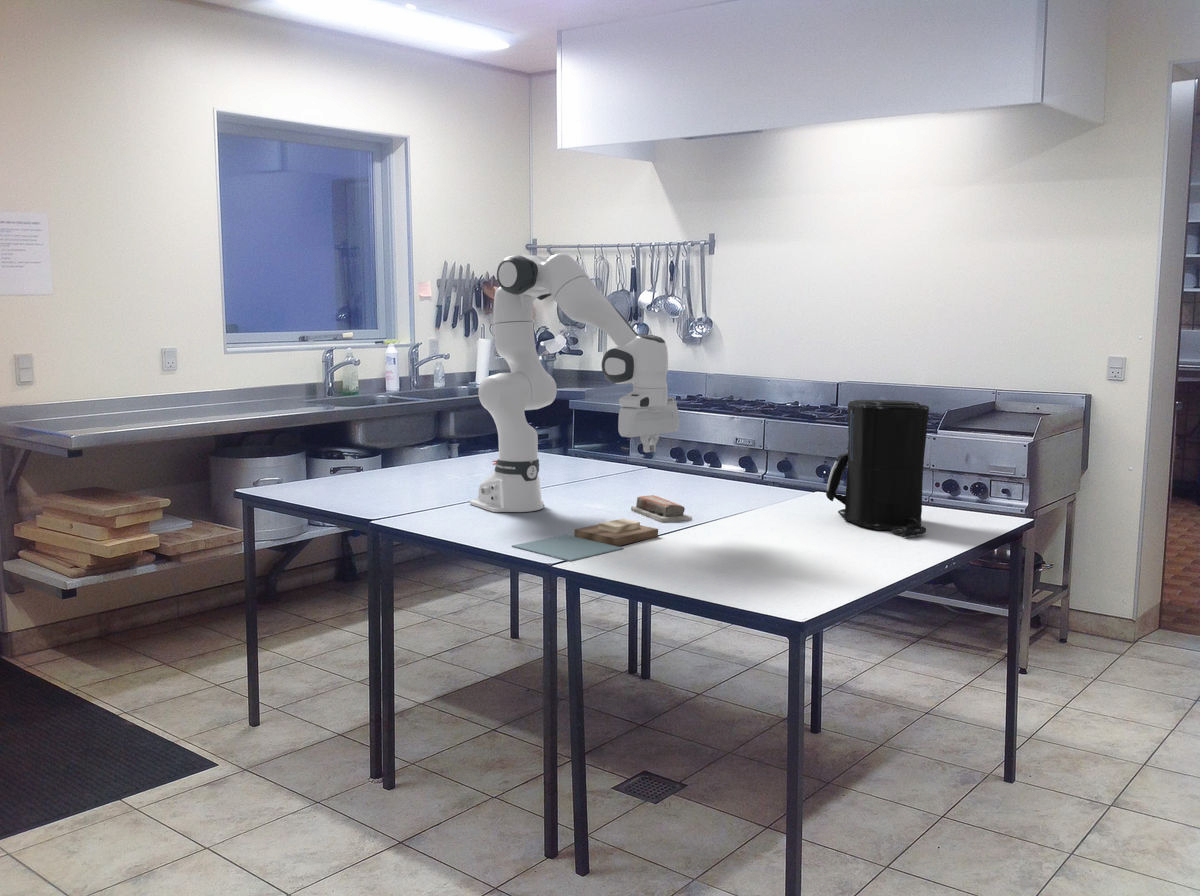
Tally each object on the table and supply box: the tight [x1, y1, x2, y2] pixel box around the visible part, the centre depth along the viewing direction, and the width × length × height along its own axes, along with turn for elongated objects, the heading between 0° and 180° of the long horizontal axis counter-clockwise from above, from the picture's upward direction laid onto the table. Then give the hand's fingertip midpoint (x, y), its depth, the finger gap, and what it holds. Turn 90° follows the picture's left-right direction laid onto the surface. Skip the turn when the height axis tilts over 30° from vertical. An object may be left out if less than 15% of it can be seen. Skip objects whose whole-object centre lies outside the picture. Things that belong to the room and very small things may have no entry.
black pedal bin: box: [825, 399, 930, 539], centre depth 280 cm, size 23×32×34 cm
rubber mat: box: [511, 533, 624, 562], centre depth 250 cm, size 20×18×1 cm
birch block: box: [597, 518, 641, 533], centre depth 263 cm, size 9×6×2 cm, turn 136°
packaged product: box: [630, 494, 693, 523], centre depth 291 cm, size 18×5×10 cm
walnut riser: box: [573, 524, 659, 547], centre depth 262 cm, size 14×16×2 cm
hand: (649, 451), depth 268 cm, fingers closed
